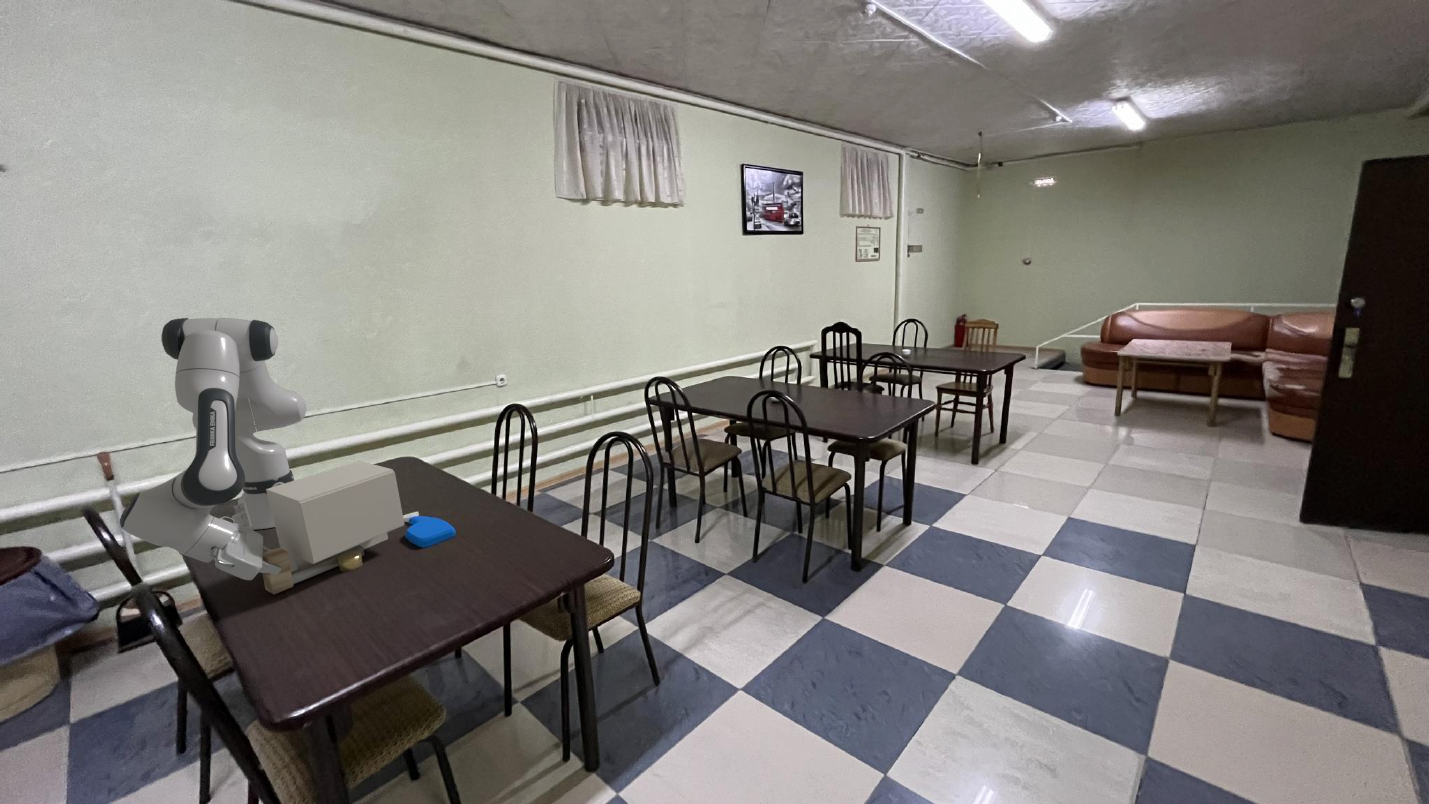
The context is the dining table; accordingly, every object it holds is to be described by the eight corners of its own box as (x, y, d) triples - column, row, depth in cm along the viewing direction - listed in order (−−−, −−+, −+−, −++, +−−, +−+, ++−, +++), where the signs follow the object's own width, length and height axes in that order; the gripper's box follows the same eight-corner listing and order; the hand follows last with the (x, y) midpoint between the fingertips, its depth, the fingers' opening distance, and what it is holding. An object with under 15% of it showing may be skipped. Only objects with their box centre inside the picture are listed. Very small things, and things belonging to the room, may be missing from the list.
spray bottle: (458, 526, 157) (423, 505, 173) (417, 541, 149) (384, 517, 165) (460, 536, 157) (424, 514, 173) (419, 551, 149) (386, 527, 166)
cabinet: (286, 570, 142) (266, 489, 136) (374, 533, 160) (359, 460, 155) (319, 587, 133) (299, 501, 128) (408, 546, 152) (394, 469, 146)
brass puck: (335, 568, 142) (333, 557, 141) (356, 559, 146) (354, 549, 145) (346, 573, 139) (344, 562, 139) (366, 564, 144) (364, 553, 143)
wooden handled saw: (265, 589, 131) (259, 554, 129) (358, 552, 149) (354, 521, 147) (273, 594, 130) (267, 559, 127) (366, 556, 147) (362, 524, 145)
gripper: (221, 545, 116) (289, 571, 124) (227, 513, 132) (287, 538, 140) (197, 572, 114) (269, 597, 122) (206, 537, 130) (269, 560, 138)
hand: (279, 565), depth 131 cm, fingers closed on wooden handled saw, 5 cm apart
